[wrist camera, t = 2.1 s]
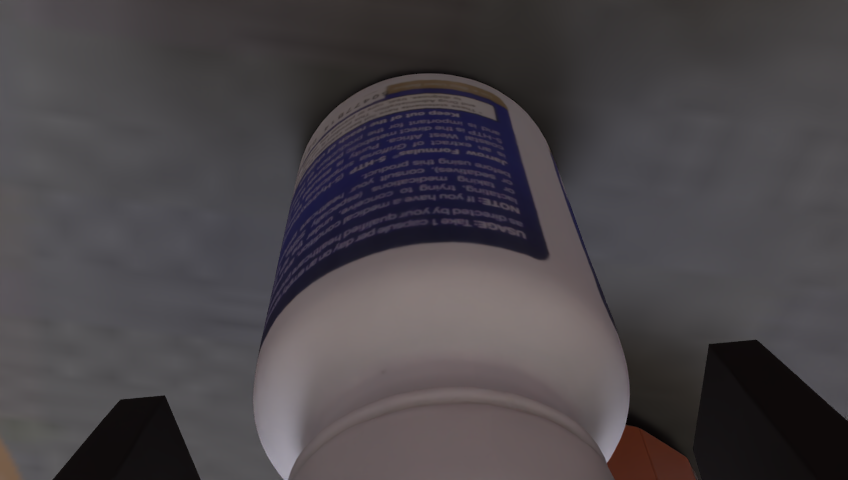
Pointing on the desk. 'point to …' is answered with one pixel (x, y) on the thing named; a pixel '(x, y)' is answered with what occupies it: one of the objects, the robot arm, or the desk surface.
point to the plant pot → (647, 459)
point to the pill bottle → (436, 301)
